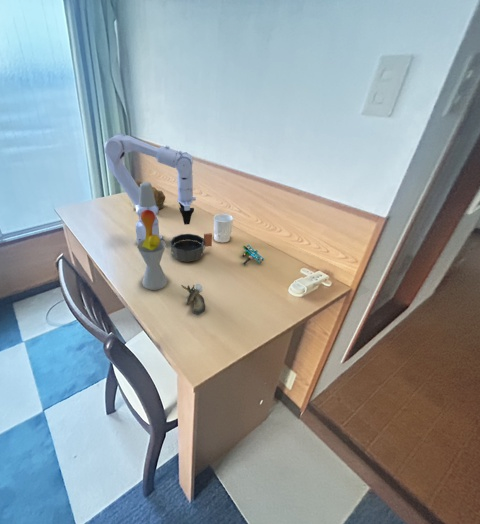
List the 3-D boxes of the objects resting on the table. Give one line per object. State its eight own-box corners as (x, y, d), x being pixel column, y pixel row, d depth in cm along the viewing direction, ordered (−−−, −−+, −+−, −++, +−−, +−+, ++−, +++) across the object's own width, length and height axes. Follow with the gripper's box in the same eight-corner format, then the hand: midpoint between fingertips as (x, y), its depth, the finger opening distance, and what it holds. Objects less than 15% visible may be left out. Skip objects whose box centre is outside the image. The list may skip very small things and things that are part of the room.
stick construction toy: (268, 261, 102) (257, 246, 99) (255, 274, 102) (243, 260, 99) (252, 253, 113) (241, 239, 110) (239, 265, 113) (228, 252, 111)
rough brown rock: (174, 213, 147) (175, 185, 139) (145, 219, 139) (144, 189, 132) (154, 201, 164) (153, 175, 157) (127, 205, 157) (125, 178, 149)
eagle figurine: (175, 295, 90) (181, 310, 82) (185, 276, 88) (193, 290, 80) (194, 303, 93) (202, 318, 85) (205, 285, 91) (214, 299, 83)
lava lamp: (136, 283, 98) (122, 184, 78) (154, 271, 103) (145, 176, 84) (155, 293, 93) (145, 191, 73) (173, 280, 98) (168, 181, 79)
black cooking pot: (173, 264, 105) (172, 246, 101) (169, 246, 116) (168, 229, 112) (215, 259, 107) (216, 242, 102) (207, 242, 118) (208, 226, 113)
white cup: (230, 244, 118) (232, 222, 112) (211, 242, 119) (212, 221, 114) (231, 235, 124) (233, 214, 118) (213, 233, 126) (214, 213, 120)
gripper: (198, 193, 101) (197, 227, 109) (193, 180, 113) (193, 212, 121) (178, 194, 101) (179, 228, 108) (176, 181, 113) (177, 213, 120)
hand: (185, 220), depth 115 cm, fingers open, 7 cm apart
